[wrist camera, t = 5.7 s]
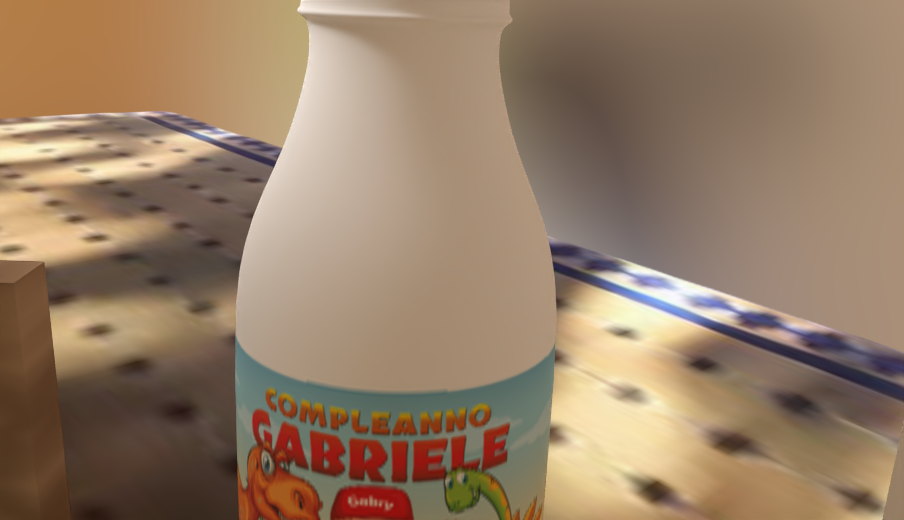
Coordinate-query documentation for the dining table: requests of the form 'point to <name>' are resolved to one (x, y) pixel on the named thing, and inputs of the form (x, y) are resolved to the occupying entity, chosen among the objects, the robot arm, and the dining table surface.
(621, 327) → the dining table surface
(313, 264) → the milk bottle
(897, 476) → the robot arm
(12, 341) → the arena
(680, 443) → the dining table surface
